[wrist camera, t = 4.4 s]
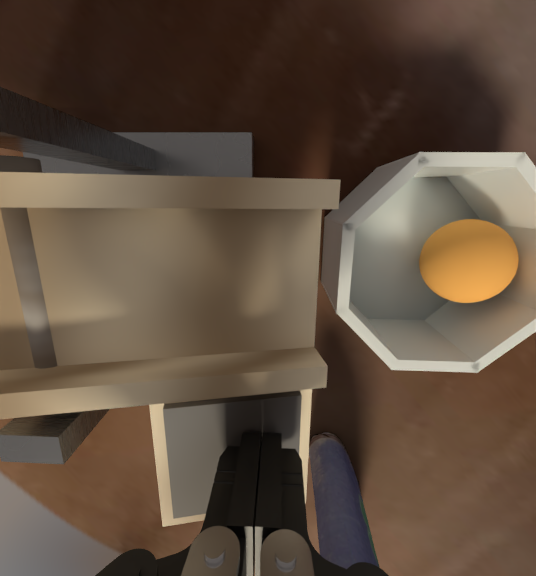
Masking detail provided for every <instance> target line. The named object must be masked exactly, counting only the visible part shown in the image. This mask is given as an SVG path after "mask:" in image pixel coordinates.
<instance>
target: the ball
mask: <svg viewBox="0 0 536 576" xmlns="http://www.w3.org/2000/svg"><path fill="white" fill-rule="evenodd" d="M518 262H519V255H518V250H517V247H516V245H515V243H514V241H513V239H512V238H511V236H510V235H509V234H508V233H507V232H506V231H505V230H504V229H502V228H501V227H499V226H497V225H495V224H493V223H491V222H488V221H484V220H478V219H464V220H458V221H454V222H451V223H449V224H447V225H445V226H443V227H441V228H439V229H438V230H436V231H435V232H434V233H433V234H432V235H431V236H430V237H429V238H428V239H427V241H426V242H425V244H424V246H423V248H422V250H421V253H420V258H419V268H420V273H421V275H422V278H423V280H424V282H425V283H426V284H427V286H428V287H429V288H430V289H431V290H432V291H433V292H434V293H436V294H437V295H439V296H440V297H442V298H444V299H447V300H450V301H454V302H459V303H474V302H479V301H483V300H487V299H489V298H491V297H494V296H495V295H497V294H499V293H500V292H501V291H503V290H504V289H505V288H506V287H507V286H508V285H509V284H510V282H511V281H512V280H513V278H514V276H515V274H516V271H517V268H518Z"/></svg>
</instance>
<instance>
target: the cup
mask: <svg viewBox="0 0 536 576" xmlns="http://www.w3.org/2000/svg"><path fill="white" fill-rule="evenodd" d="M324 218H325V220H324V238H323V255H322V272H321V283H322V285H323V287H324V289H325V291H326V293H327V295H328V297H329V299H330V301H331V304H332V306H333V308H334V310H335V312H336V314H338V315H339V316H340V317H341V318H342V319H343V320H344V321H345V322H346V323H347V324H348V325H349V326H350V327H351V328H352V329H353V330H354V331H355V332H356V334H357V335H358V336H359V337H360V338H361V339H362V340H363V341H364V342H365V343H366V344H367V345H368V346H369V347H370V348H371V349H372V350H373V351H374V352H375V353H376V354H377V355H378V356H379V357H380V358H381V359H382V360H383V361H384V362H385V363H386V364H387V365H388V366H389V367H390V369H391V370H413V371H445V372H476V373H478V372H479V371H480V370H482V369H483V368H485V367H486V366H487V365H489V364H490V363H492V362H493V361H494V360H496V359H497V358H499V357H500V356H502V355H503V354H504V353H506V352H507V351H509V350H510V349H512V348H513V347H514V346H516V345H517V344H519V343H520V342H522V341H523V340H524V339H526V338H527V337H529V336H530V335H531V334H533V333H534V332H536V167H535V165H534V164H533V163H532V161H531V160H530V159H529V157H528V156H527V155H526V152H418V153H415V154H413V155H410V156H407V157H404V158H402V159H399V160H396V161H393V162H391V163H388V164H385V165H382V166H380V167H377V168H376V169H375V170H374V171H373V172H372V173H371V174H370V175H369V176H368V177H367V178H365V179H364V180H363V181H362V182H361V183H360V184H359V185H358V186H357V187H356V188H355V189H354V190H353V191H352V192H351V193H350V194H349V195H348V196H347V197H345V198H344V199H343V200H342V201H341V202H340V203H339V209H333V210H332V211H331V212H330V213H329V214H328V215H327V216H326V217H324ZM464 219H478V220H484V221H488V222H491V223H493V224H495V225H497V226H499V227H501V228H502V229H504V230H505V231H506V232H507V233H508V234H509V235H510V236H511V238H512V239H513V241H514V243H515V245H516V247H517V250H518V255H519V262H518V268H517V271H516V274H515V276H514V278H513V280H512V281H511V282H510V284H509V285H508V286H507V287H506V288H505V289H504V290H503V291H501V292H500V293H499V294H497V295H495V296H494V297H491V298H489V299H487V300H483V301H479V302H474V303H459V302H454V301H450V300H447V299H444V298H442V297H440V296H439V295H437V294H436V293H434V292H433V291H432V290H431V289H430V288H429V287H428V286H427V284H426V283H425V282H424V280H423V278H422V275H421V273H420V268H419V258H420V253H421V250H422V248H423V246H424V244H425V242H426V241H427V239H428V238H429V237H430V236H431V235H432V234H433V233H434V232H435V231H436V230H438V229H439V228H441V227H443V226H445V225H447V224H449V223H451V222H454V221H458V220H464Z"/></svg>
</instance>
